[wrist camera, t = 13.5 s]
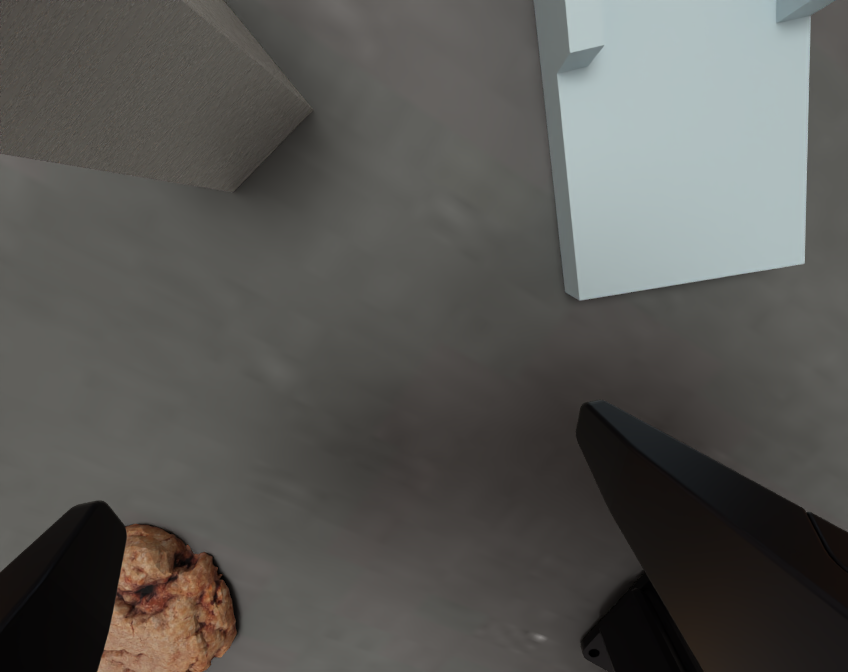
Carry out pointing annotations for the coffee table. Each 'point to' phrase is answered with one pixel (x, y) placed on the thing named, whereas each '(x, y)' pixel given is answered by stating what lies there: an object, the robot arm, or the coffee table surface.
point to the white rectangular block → (141, 89)
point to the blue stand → (675, 137)
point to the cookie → (167, 608)
